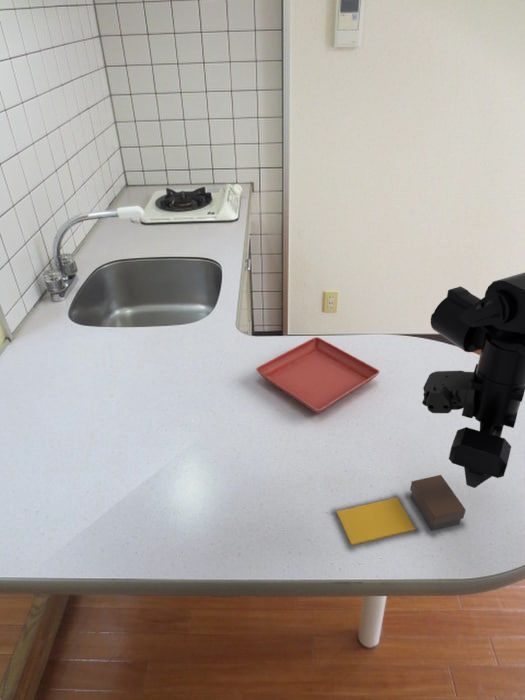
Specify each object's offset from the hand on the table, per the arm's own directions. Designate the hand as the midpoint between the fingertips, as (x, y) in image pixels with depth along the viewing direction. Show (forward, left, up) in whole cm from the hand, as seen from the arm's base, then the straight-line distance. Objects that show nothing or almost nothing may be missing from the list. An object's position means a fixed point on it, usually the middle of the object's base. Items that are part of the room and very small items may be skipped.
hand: (477, 462), depth 72 cm
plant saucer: (+36, -15, -12) cm, 41 cm away
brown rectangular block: (+4, +1, -12) cm, 13 cm away
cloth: (+10, +8, -12) cm, 18 cm away
